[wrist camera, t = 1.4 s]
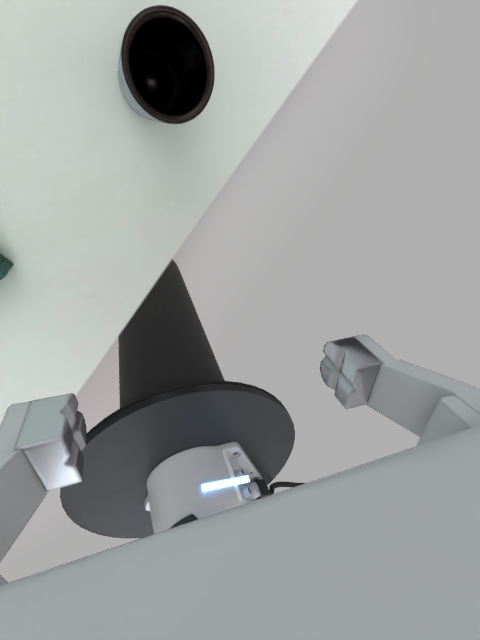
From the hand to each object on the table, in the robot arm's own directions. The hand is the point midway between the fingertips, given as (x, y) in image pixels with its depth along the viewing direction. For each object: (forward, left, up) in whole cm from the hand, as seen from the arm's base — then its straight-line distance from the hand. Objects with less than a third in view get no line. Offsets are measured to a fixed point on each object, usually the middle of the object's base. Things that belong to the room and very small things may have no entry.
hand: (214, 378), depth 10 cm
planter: (+7, -6, -23) cm, 25 cm away
